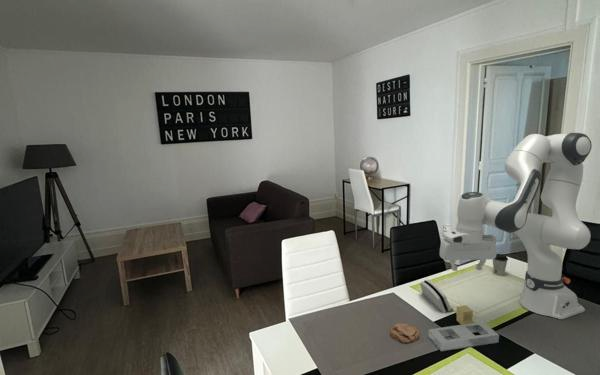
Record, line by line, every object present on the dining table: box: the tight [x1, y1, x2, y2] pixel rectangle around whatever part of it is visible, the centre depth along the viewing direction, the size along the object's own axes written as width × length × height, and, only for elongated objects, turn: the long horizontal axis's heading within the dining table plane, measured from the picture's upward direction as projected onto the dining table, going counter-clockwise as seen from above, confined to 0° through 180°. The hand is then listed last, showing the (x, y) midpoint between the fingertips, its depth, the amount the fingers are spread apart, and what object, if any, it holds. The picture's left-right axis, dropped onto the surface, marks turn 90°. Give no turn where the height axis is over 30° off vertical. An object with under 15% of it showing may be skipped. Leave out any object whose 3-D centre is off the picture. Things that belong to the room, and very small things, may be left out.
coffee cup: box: [492, 253, 509, 277], centre depth 161 cm, size 7×7×10 cm
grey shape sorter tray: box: [428, 321, 500, 352], centre depth 114 cm, size 22×8×3 cm, turn 98°
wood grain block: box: [456, 305, 474, 325], centre depth 124 cm, size 4×4×6 cm
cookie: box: [389, 322, 420, 344], centre depth 118 cm, size 10×11×3 cm
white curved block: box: [419, 279, 455, 314], centre depth 138 cm, size 17×5×10 cm, turn 8°
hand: (466, 269), depth 121 cm, fingers open, 8 cm apart
